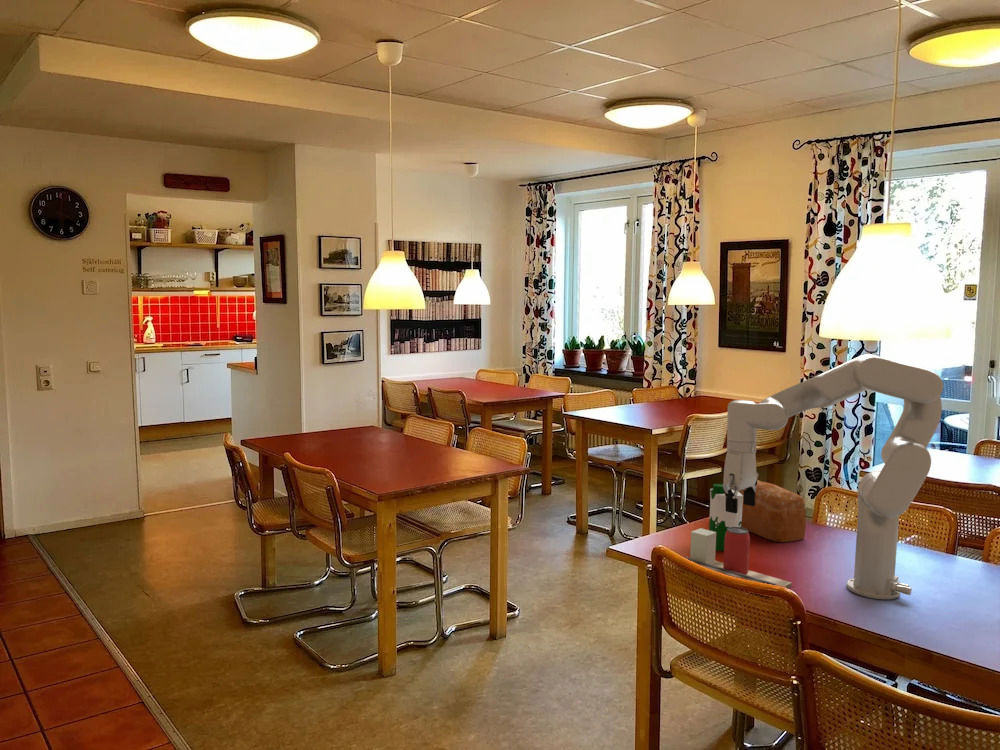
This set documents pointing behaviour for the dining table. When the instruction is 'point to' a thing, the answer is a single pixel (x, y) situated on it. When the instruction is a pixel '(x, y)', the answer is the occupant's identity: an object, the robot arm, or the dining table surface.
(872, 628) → the dining table surface
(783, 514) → the bread
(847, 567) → the dining table surface
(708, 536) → the carton
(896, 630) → the dining table surface
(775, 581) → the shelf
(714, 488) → the milk carton
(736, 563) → the beer can
